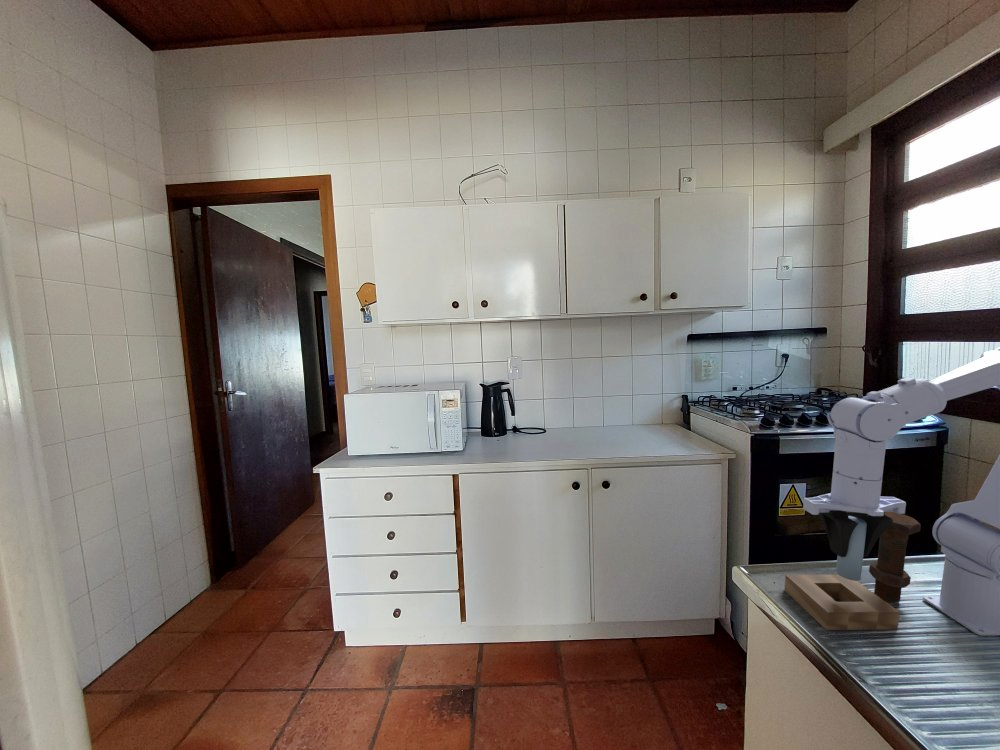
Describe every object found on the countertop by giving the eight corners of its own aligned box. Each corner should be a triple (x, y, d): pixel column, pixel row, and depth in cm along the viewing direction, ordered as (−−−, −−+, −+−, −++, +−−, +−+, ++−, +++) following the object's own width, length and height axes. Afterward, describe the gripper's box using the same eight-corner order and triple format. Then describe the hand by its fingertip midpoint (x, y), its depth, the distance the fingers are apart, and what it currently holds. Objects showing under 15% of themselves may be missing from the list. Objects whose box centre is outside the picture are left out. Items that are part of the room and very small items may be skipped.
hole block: (846, 589, 68) (847, 574, 67) (897, 629, 59) (899, 611, 58) (784, 590, 68) (785, 574, 68) (826, 629, 59) (827, 612, 59)
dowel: (847, 568, 63) (853, 515, 62) (866, 580, 60) (872, 524, 59) (830, 569, 63) (836, 516, 62) (848, 581, 60) (854, 525, 59)
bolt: (918, 612, 62) (929, 527, 60) (882, 608, 63) (892, 524, 61) (890, 588, 68) (899, 510, 66) (857, 585, 69) (865, 508, 67)
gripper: (832, 484, 56) (824, 569, 57) (931, 483, 56) (920, 568, 57) (796, 467, 63) (790, 543, 64) (883, 466, 63) (875, 542, 64)
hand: (848, 553), depth 61 cm, fingers closed on dowel, 3 cm apart
